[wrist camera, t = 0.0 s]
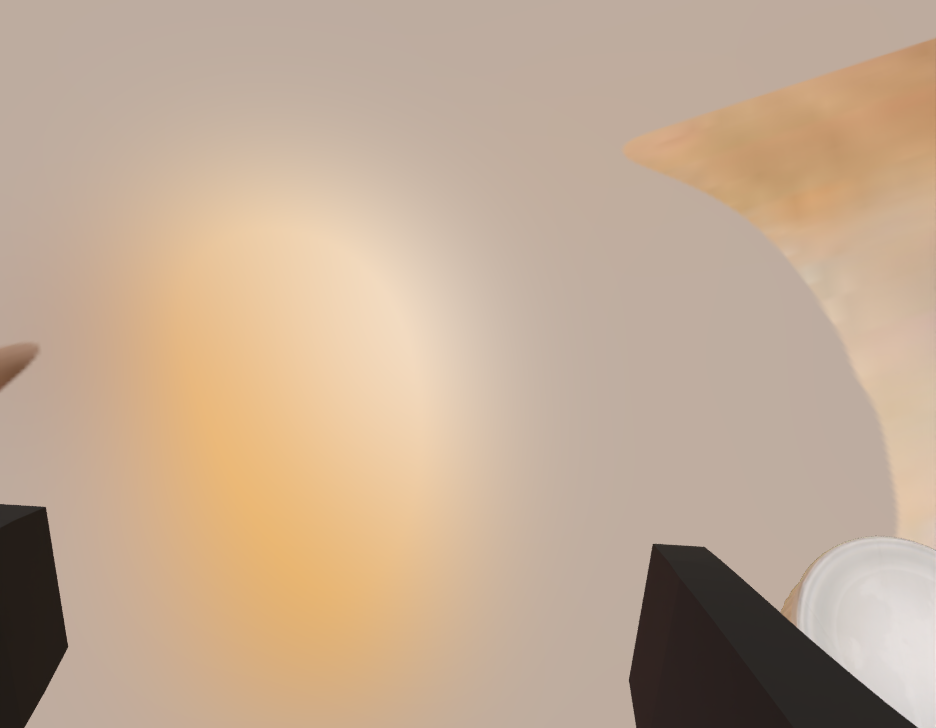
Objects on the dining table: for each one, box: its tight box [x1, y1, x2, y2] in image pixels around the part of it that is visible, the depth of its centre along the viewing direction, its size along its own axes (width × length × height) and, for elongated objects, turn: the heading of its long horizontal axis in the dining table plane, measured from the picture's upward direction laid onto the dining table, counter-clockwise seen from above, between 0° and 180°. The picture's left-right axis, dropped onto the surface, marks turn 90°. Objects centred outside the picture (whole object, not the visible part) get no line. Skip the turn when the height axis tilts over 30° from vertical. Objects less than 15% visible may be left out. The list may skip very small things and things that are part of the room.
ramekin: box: [781, 536, 936, 728], centre depth 37 cm, size 11×11×5 cm
